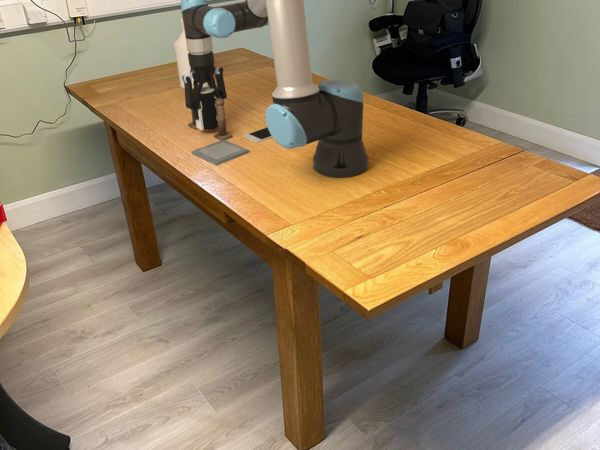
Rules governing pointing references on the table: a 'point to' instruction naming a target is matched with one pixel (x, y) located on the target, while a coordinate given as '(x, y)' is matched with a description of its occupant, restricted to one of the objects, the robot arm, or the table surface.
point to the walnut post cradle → (221, 121)
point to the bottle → (183, 57)
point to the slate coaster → (220, 152)
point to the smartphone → (259, 135)
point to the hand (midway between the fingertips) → (209, 125)
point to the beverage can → (208, 108)
